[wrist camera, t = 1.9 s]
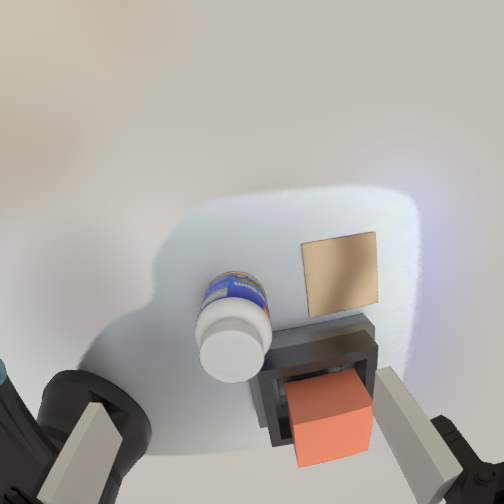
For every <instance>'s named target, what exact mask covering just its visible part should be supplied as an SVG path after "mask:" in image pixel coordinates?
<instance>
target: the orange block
mask: <svg viewBox="0 0 504 504" xmlns="http://www.w3.org/2000/svg"><path fill="white" fill-rule="evenodd" d="M284 386H285V393H286V400H287V407H288V414H289V422H290V429H291V434H292V439H293V444H294V449H295V453H296V458H297V463H298V468H300V467H305V466H309V465H314V464H319V463H323V462H328V461H332V460H336V459H340V458H343V457H347V456H350V455H354V454H357V453H361V452H364V451H367V450H368V446H369V441H370V435H371V429H372V422H373V416H374V415H373V413H372V411H371V410H372V402H373V400H372V398H371V397H370V395H369V393H368V392H367V390H366V388H365V386H364V385H363V383H362V381H361V379H360V378H359V376H358V374H357V373H356V371H355V369H354V368H350V369H347V370H343V371H339V372H334V373H330V374H326V375H322V376H317V377H312V378H308V379H303V380H298V381H292V382H287V383H284Z"/></svg>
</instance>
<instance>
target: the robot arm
mask: <svg viewBox="0 0 504 504" xmlns="http://www.w3.org/2000/svg"><path fill="white" fill-rule="evenodd" d="M371 411H372V413H373V415H374V417H375V419H376V421H377V423H378V425H379V427H380V428H381V431H382V432H383V434H384V436H385V438H386V440H387V442H388V444H389V446H390V448H391V450H392V452H393V454H394V456H395V458H396V460H397V462H398V464H399V466H400V468H401V470H402V472H403V474H404V476H405V478H406V480H407V482H408V484H409V486H410V488H411V490H412V492H413V494H414V496H415V498H416V501H417V503H418V504H439V503H440V502H441V500H442V499H443V498H444V499H445V501H446V504H504V462H501V463H498V464H492V463H487V462H483V461H481V460H480V459H479V458H478V456H477V455H476V453H475V452H474V451H473V449H472V448H471V447H470V445H469V444H468V443H467V441H466V440H465V439H464V437H462V435H461V434H460V432H459V431H458V430H457V428H456V427H455V425H454V424H453V423H452V422H451V420H449V419H447V418H446V417H444V416H442V415H440V416H438V417H435V418H433V419H431V420H429V419H428V417H427V416H426V414H425V413H424V412H423V410H422V409H421V407H420V406H419V405H418V403H417V402H416V400H415V399H414V398H413V396H412V395H411V393H410V392H409V391H408V389H407V388H406V387H405V385H404V384H403V382H402V381H401V380H400V378H399V377H398V376H397V374H396V373H395V372H394V370H393V369H392V368H391V366H389V367H386V368H383V369H380V370H376V371H375V383H374V393H373V402H372V410H371ZM150 439H151V426H150V423H149V421H148V419H147V417H146V415H145V414H144V412H143V411H142V409H141V408H140V407H139V406H138V405H137V404H136V402H135V401H134V400H132V399H131V398H130V397H129V396H128V395H127V394H126V393H124V392H123V391H122V390H120V389H119V388H118V387H116V386H115V385H113V384H111V383H110V382H108V381H106V380H104V379H102V378H100V377H98V376H96V375H93V374H90V373H87V372H83V371H78V370H65V371H62V372H59V373H57V374H56V375H55V376H54V377H53V378H52V379H51V380H50V382H49V383H48V384H47V385H46V387H45V389H44V391H43V396H42V402H41V406H40V409H39V413H38V417H37V420H35V419H34V417H33V416H32V414H31V413H30V411H29V410H28V408H27V407H26V405H25V404H24V402H23V401H22V399H21V398H20V396H19V394H18V393H17V391H16V389H15V388H14V386H13V384H12V382H11V381H10V379H9V377H8V375H7V373H6V368H5V365H4V363H3V361H2V360H1V359H0V504H115V501H116V498H117V495H118V491H119V488H120V485H121V482H122V479H123V477H124V476H125V475H126V474H127V473H128V472H129V470H130V469H131V468H132V467H133V466H134V464H135V463H136V462H137V461H138V459H140V458H141V457H142V456H143V455H144V454H145V452H146V451H147V448H148V445H149V442H150Z"/></svg>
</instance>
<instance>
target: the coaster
mask: <svg viewBox="0 0 504 504" xmlns="http://www.w3.org/2000/svg"><path fill="white" fill-rule="evenodd" d="M301 246H302V254H303V262H304V271H305V280H306V289H307V298H308V308H309V316H310V318H311V317H316V316H321V315H326V314H331V313H335V312H340V311H345V310H349V309H353V308H358V307H362V306H366V305H370V304H375V303H378V271H377V248H376V232H369V233H363V234H357V235H351V236H345V237H339V238H333V239H327V240H321V241H315V242H309V243H303V244H301Z"/></svg>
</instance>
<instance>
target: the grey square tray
mask: <svg viewBox="0 0 504 504" xmlns="http://www.w3.org/2000/svg"><path fill="white" fill-rule="evenodd" d="M374 340H375V326H374V325H373V324H372V323H371V322H370V321H369V320H368V318H367V317H366V316H365V315H364V314H363V313H362V314H358V315H354V316H350V317H345V318H341V319H337V320H332V321H327V322H323V323H318V324H313V325H308V326H303V327H298V328H292V329H287V330H281V331H276V332H272V342H271V345H270V347H269V349H268V351H267V353H266V354H265V355H264V363H263V366H262V368H261V369H260V371H259V372H258V373H257V374H256V375H255V376H254V377H252V378H250V379H249V382H250V387H251V391H252V395H253V400H254V404H255V408H256V413H257V417H258V421H259V425H260V428H264V427H268V430H269V434H270V439H271V444H272V447H276V446H282V445H288V444H293V439H292V434H291V429H290V422H289V414H288V407H287V400H286V396H282V397H280V396H279V390H278V384H277V379H278V378H284V377H290V376H295V375H300V374H305V373H310V372H314V371H319V370H324V369H328V368H332V367H336V366H341V371H343V370H347V369H350V368H354V369H355V371H356V373H357V374H358V376H359V378H360V379H361V381H362V383H363V385H364V386H365V388H366V390H367V392H368V393H369V395H370V397H371V398H372V400H373V393H374V383H375V371H376V370H377V359H378V345H377V344H376V342H375V341H374Z"/></svg>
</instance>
